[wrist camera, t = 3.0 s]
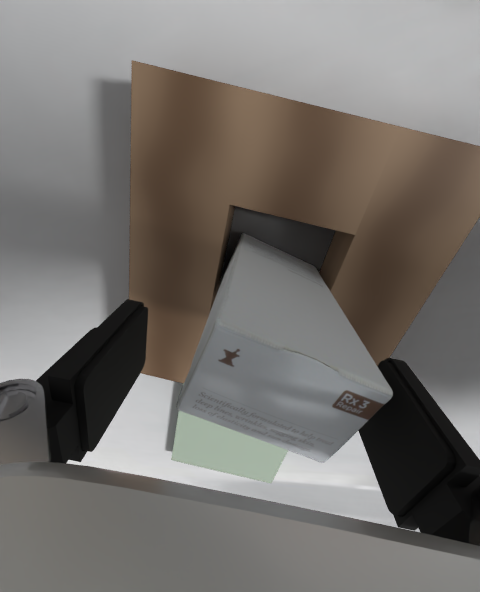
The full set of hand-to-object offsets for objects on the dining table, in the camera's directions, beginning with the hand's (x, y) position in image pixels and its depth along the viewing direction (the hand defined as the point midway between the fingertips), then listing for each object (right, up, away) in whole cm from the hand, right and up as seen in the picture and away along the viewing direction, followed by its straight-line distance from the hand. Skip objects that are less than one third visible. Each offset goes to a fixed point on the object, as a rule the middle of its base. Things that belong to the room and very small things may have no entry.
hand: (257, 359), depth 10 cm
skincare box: (+2, +4, +9) cm, 10 cm away
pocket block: (+2, +4, +9) cm, 10 cm away
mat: (-1, -12, +17) cm, 21 cm away
